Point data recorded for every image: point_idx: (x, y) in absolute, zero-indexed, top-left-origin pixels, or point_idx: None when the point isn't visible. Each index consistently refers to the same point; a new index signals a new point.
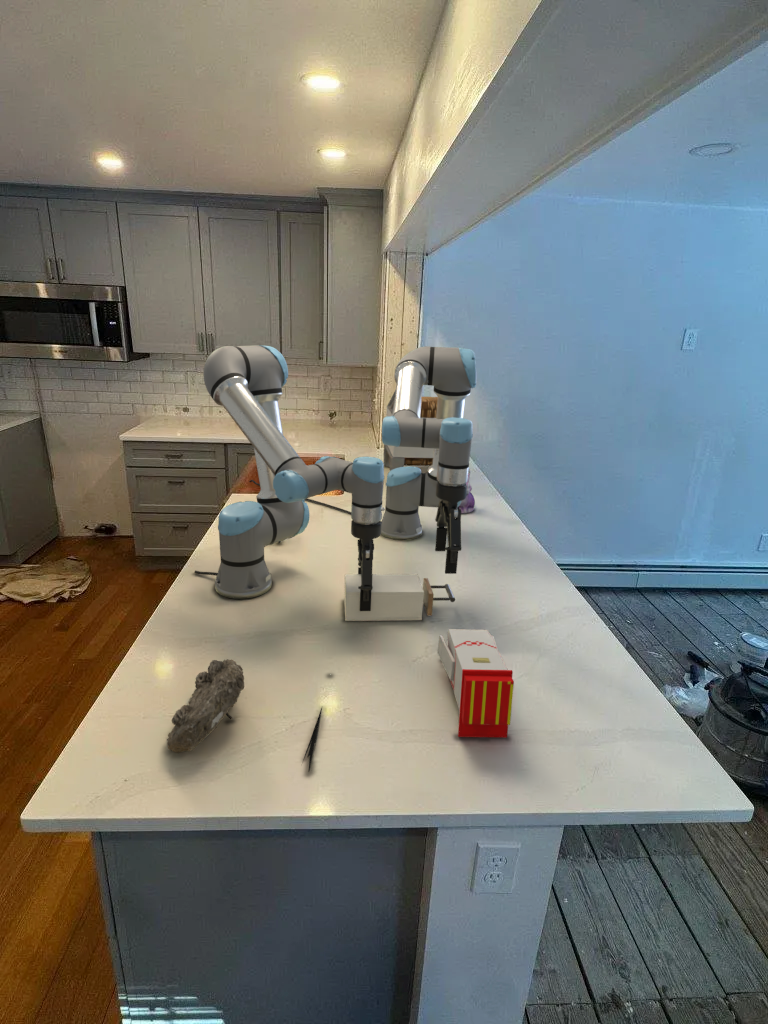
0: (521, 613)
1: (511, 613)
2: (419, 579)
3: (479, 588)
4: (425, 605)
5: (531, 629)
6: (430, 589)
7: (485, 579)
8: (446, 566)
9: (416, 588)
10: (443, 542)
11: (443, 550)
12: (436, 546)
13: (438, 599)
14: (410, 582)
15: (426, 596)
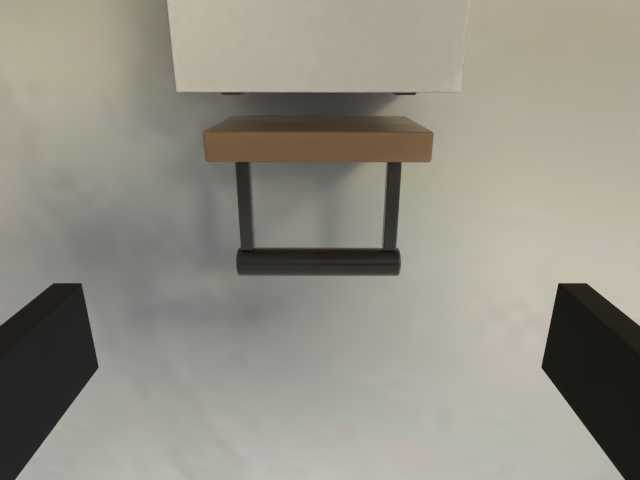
0: (289, 476)
1: (289, 447)
2: (367, 90)
3: (497, 390)
4: (295, 118)
5: (181, 476)
6: (267, 152)
7: (572, 428)
8: (9, 324)
9: (225, 44)
10: (596, 407)
11: (548, 355)
12: (585, 314)
13: (238, 187)
14: (322, 9)
15: (284, 124)
